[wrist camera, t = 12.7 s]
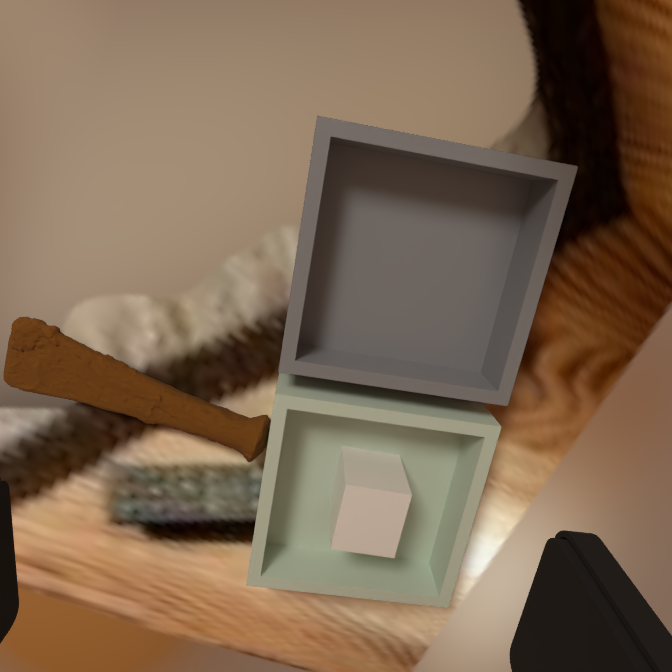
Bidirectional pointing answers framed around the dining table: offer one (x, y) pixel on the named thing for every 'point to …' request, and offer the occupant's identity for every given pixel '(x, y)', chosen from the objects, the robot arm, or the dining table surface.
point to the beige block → (368, 502)
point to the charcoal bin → (420, 262)
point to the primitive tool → (120, 388)
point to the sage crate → (318, 477)
